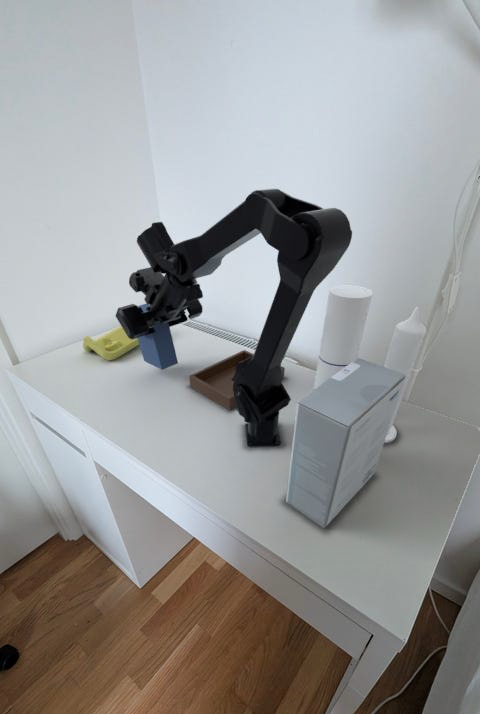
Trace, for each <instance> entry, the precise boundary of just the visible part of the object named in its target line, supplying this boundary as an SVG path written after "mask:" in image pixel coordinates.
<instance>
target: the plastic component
mask: <svg viewBox="0 0 480 714" xmlns="http://www.w3.org/2000/svg"><path fill="white" fill-rule="evenodd" d="M82 343H83V344H82V349H83V350H84V351H86V352H91V351H94V352H95V353H96V354H97V355H98V356H100V357H101V358H102V359H103V360H106V361H115V360H117V359H118V358H119V357H121V356H123V355H125V354H126V353H128V352H129V351H131V350H133V349H134V348H136V347H137V346H140V345H139V342H138V338H136V339H133V340H132V339H130V338H128V336H127V334H126V333H125V331H124V329H123V328H122V326H121V325H120V326H118V327H116V328H115V329H113V330H111V331H109V332H108V333H105V334H104V335H101V336H100V337H98V338H97V339H92V338H91V337H90V336H88V335H86V336H84V337H83V342H82Z"/></svg>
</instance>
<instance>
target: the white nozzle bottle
mask: <svg viewBox="0 0 480 714" xmlns="http://www.w3.org/2000/svg"><path fill="white" fill-rule="evenodd" d="M426 333H427V327H425V325H424V324H423V323H422V322H421V321H420V306H416V307H415V308H414V309H413V312H412V313H411V315H410V316H409V317H408V318H407V319H405V320H403V321H400V322H399V323H397V324H396V326H395V328H394V332H393V335H392V339H391V341H390V344H389V348H388V352H387V355H386V359H385V362H384V365H383V367H385V368H388V369H391V370H394V371H397V372H399V373H402V374H405V380H404V384H403V387H402V390H401V393H400V396H399V399H398V402H397V405H396V408H395V411H394V414H393V417H392V420H391V423H390V426H389V429H388V432H387V435H386V438H385V441H384V444H387V443H391V442H393V441H394V440H395V439H396V437H397V433H398V432H397V429H396V427H395V426H394V422H395V419H396V416H397V413H398V411H399V409H400V406H401V402H402V400H403V397H404V394H405V391H406V389H407V386H408V383H409V380H410V378H411V376H412V375H411V374H412V372H413V369H414V366H415V363H416V360H417V358H418V356H419V353H420V350H421V348H422V344H423V341H424V339H425V336H426Z"/></svg>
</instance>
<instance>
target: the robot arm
mask: <svg viewBox="0 0 480 714" xmlns="http://www.w3.org/2000/svg"><path fill="white" fill-rule="evenodd" d="M164 224H165V223H163V221H157V222H155V221H154V222H152V223H151V225H150V227H148V228H146V229H145V230H143V231H142V232H141V233H140V234H139V235H138V236H137V238H136V244H137V246H138V247H139V249H140V251H141V253H142V254H143V256H144V257H145V260H146V261H147V263H148V264H149V266H150V267H145V268H141V269H137V270H136V271H134V272H132V273H131V274H130V276H129V278H128V284H129V287H130V288H131V289H132V290H133V291H134V292H135V293H140V292H141V293H142V294H143V295H144V296H145V297H144V300H143V301H144V302H145V304H147V305H148V304H149V305H150V307H147V308H146V310H147V312H146V313H144V312H143V310H142V308H141V307H139V308H138V307H137V306H138V305H137V304H135V303H131V304H128V305H124V306H121V307H118V308H117V310H116V312H115V318H116V320H117V321H118V323H119V325H120V326H122V328H123V329H124V331H125V333H126V334H127V336H128V338H130V339H132V340H133V339H136V338H139V337H141V336H146V335H149V334H152V333H154V332H155V330H154V328H153V326H154V323H156V322H159V321H160V323H161V324H164V323H167V322H168V323H169V327H170V328H171V327H174V326H177V325H180V324H182V323H186V322H187V321H188V319H189V320H193V319H195V318H198V317H200V316H201V315H202V313H203V308H204V307H203V305H202V303H201V302H200V299H203V298H204V295H203V291H202V289H201V284H200V283H198V280H197V279H199V278H203V277H206V276H210V275H212V274H213V273H215V271H216V270H217V269H218V268H219V267H220V266H221V265H222V261H223V259H224V258H225V257H226V256H228V255H229V254H230V253H232V252H233V251H235V250H236V249H238V248H240V247H241V246H243V245H244V244H246V243H248V242H249V241H251V240H252V239H254V238H255V237H257V236H259V235H260V234H261V235H262V237H263V239H264V240H265V243H267V244H268V245H269V246H270V247H272V248H273V249H275V250H276V251H277V256H276V263H277V268H278V274H279V282H278V285H277V289H276V291H275V293H274V297H273V300H272V302H271V305H270V309H269V311H268V314H267V316H266V319H265V322H264V324H263V327H262V331H261V333H260V336H259V338H258V342H257V345H256V347H255V350H254V353H253V354H254V355H253V356H251V357H249V358H247V359H245V360H243V361H241V362H239V363H238V364H237V366H236V370H235V375H234V377H233V378H232V379H231V380H232V381H234V383H233V392H234V397H235V400H236V404H237V407H236V408H237V411H238V415H239V416H240V417H242V418H243V419H244V422H245V425H244V429H245V439H246V440H245V441H246V446H247V447H250V448H251V447H252V448H253V447H277V446H281V445H282V439H281V435H280V430H279V419H280V411H281V410H282V409H284V408H286V407H288V406H289V404H290V402H291V401H292V399H291V396H290V394H289V392H288V391H287V389H286V388H285V386H284V385H283V384H284V383H282V380H283V379H282V377H283V373H282V369H281V366H282V363H283V360H284V358H285V355H286V354H287V351H288V349H289V347H290V345H291V343H292V340H293V338H294V336H295V334H296V331H297V330H298V327H299V325H300V322H301V320H302V318H303V317H304V314H305V312H306V309H307V307H308V305H309V303H310V300H311V298H312V296H313V294H314V292H315V290H316V289H317V287H318V286H319V285H320V284H321V283H322V282H323V281H324V280H325V279H326V278H327V277H328V276H329V275H330V273H331V272H333V270H334V269H335V268H336V266H337V265H338V263H339V262H340V261H341V259H342V258H343V256H344V255H345V253H346V251H348V248H349V247H350V245H351V241H352V238H353V237H352V236H353V230H352V228H351V223H350V220H349V218H348V216H347V214H345V213H344V211H342V210H341V209H340V208H337V207H329V208H328V207H327V208H323V207H322V206H319V205H317V204H315V203H311V202H309V201H305V200H302V199H299V198H297V197H294V196H291V194H288V193H286V192H284V191H282V190H281V189H279V188H266V189H255V190H253V191H252V192H250V194H248V195H247V197H246V198H245V199H244V201H242V202H241V203H240V204H239V205H237V206H236V207H235V208H233V209H232V210H231V211H230V212H228V213H227V214H226V215H225V216H224V217H222V218H221V219H220V220H218V221H217V222H216V223H215V224H214V225H212V226H211V227H209V228H208V229H207V230H206V231H204V232H203V233H202V234H201V235H198V236H196V237H192V238H189V239H186V240H183V241H180V242H176V243H174V241H173V240H172V237H171V236H170V234H169V233H168V230H167V227H166V226H165V225H164ZM186 311H187V312H188V315H186Z"/></svg>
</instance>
